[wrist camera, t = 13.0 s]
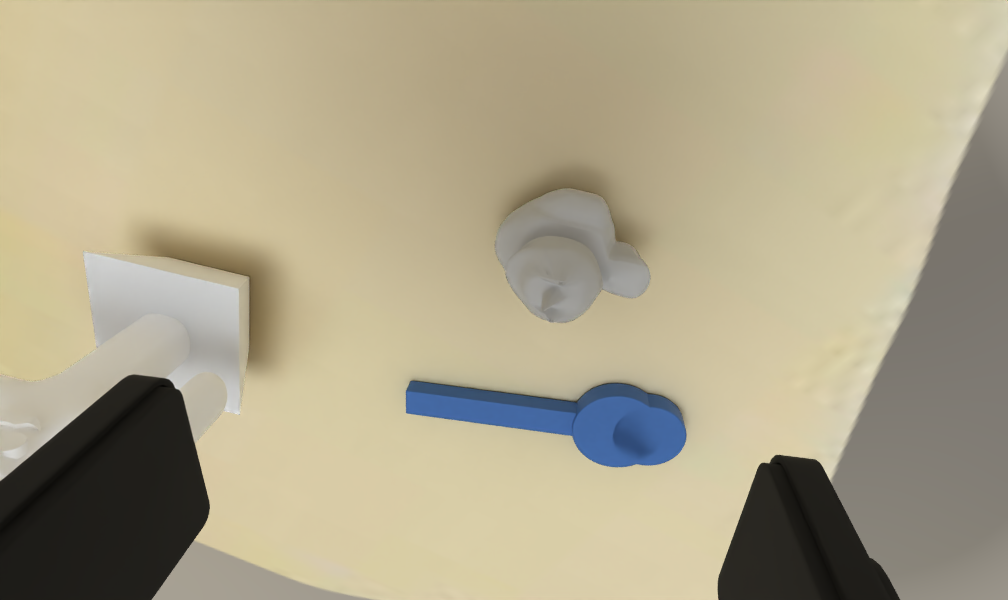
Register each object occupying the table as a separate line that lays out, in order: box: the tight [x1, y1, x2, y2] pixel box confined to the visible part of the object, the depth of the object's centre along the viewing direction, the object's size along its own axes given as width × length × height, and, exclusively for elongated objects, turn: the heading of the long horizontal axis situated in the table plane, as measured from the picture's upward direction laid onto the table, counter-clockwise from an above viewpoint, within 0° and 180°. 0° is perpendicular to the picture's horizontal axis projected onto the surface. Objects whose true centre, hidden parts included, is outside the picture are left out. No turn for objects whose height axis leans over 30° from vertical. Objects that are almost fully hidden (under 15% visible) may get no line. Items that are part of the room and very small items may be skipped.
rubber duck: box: [495, 188, 650, 323], centre depth 23 cm, size 5×7×8 cm
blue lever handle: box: [406, 381, 686, 467], centre depth 31 cm, size 15×5×1 cm, turn 86°
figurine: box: [0, 251, 249, 481], centre depth 24 cm, size 7×9×15 cm
